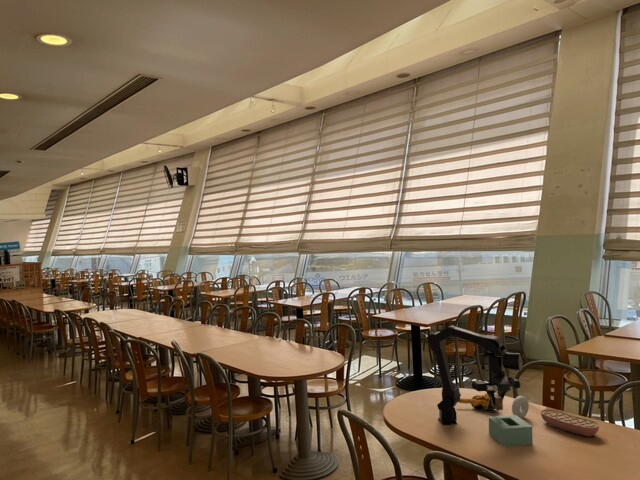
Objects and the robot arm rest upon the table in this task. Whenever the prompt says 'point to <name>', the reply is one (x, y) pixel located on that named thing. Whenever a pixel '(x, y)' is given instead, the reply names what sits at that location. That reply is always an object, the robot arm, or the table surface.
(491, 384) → the robot arm
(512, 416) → the box
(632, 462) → the table surface
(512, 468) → the table surface
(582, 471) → the table surface
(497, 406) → the rectangular block
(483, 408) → the fried shrimp in bowl
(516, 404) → the donut
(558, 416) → the pink mitochondrion model
